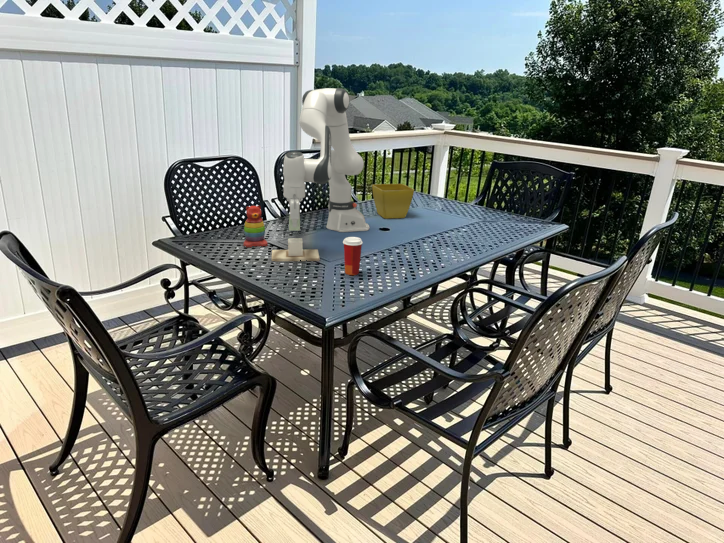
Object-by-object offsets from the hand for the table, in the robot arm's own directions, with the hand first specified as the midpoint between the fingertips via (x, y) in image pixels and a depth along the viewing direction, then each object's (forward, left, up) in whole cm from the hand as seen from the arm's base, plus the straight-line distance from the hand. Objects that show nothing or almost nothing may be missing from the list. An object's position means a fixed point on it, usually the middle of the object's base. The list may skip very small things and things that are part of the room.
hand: (294, 224), depth 216 cm
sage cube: (0, 0, -2) cm, 2 cm away
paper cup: (-22, +21, -14) cm, 34 cm away
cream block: (0, 0, -13) cm, 13 cm away
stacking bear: (+18, -19, -14) cm, 30 cm away
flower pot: (-56, -70, -14) cm, 91 cm away
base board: (0, 0, -14) cm, 14 cm away
